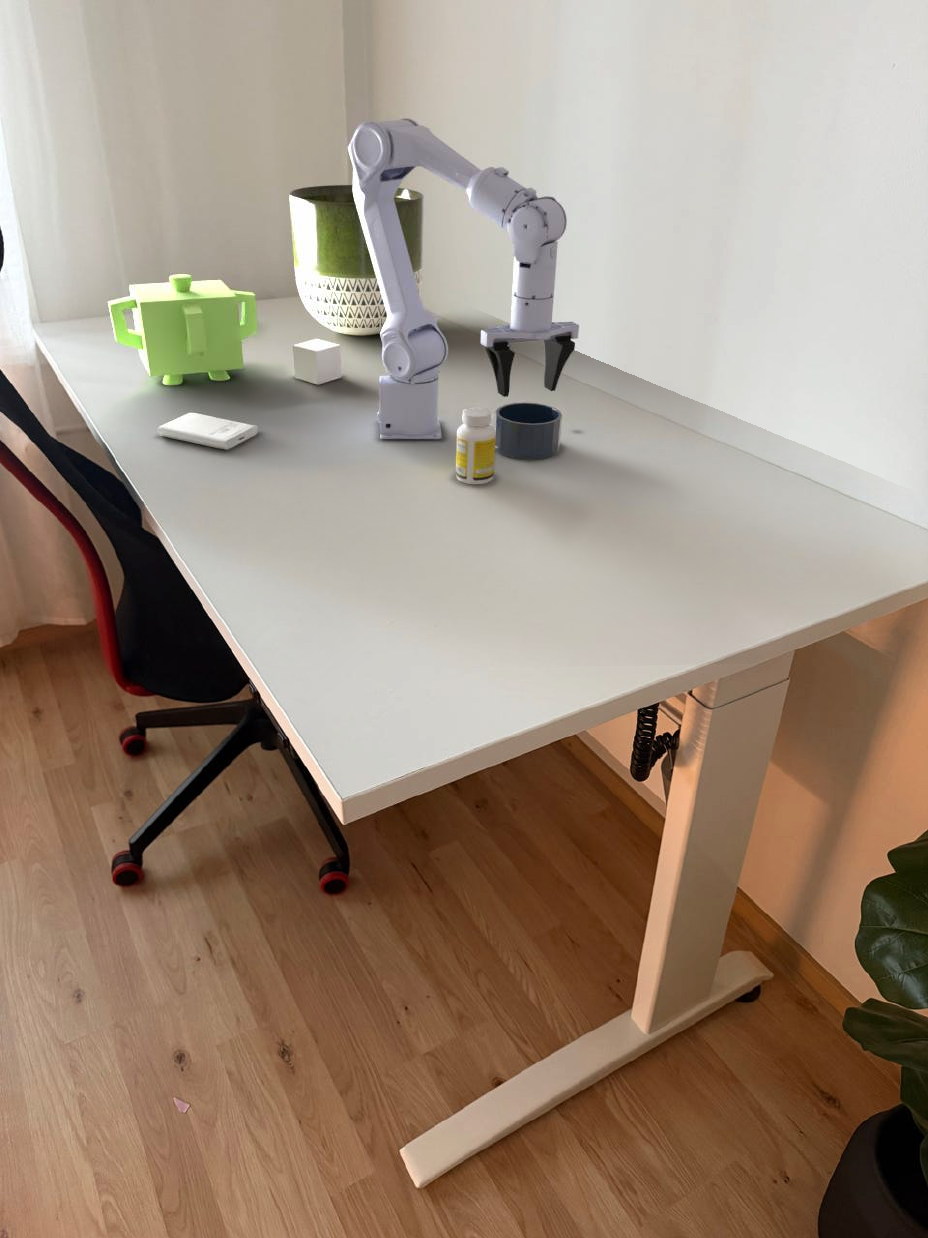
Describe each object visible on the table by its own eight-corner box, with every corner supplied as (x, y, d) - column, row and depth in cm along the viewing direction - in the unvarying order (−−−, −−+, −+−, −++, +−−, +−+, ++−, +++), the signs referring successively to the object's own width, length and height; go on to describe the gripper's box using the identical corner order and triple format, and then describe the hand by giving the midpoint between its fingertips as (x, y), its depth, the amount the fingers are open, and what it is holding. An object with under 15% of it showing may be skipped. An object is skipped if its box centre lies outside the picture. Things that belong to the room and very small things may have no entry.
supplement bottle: (498, 474, 137) (501, 408, 132) (486, 488, 132) (489, 420, 127) (462, 468, 138) (464, 403, 133) (450, 482, 134) (451, 415, 129)
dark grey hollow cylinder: (497, 459, 141) (499, 424, 138) (491, 435, 150) (492, 402, 147) (563, 459, 142) (566, 424, 139) (553, 435, 151) (556, 402, 148)
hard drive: (193, 421, 152) (257, 434, 148) (159, 437, 146) (225, 451, 141) (192, 411, 151) (257, 424, 147) (157, 426, 145) (224, 440, 140)
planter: (419, 350, 191) (420, 205, 176) (287, 345, 190) (277, 200, 176) (426, 317, 213) (426, 186, 199) (308, 313, 213) (300, 182, 199)
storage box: (129, 399, 160) (112, 294, 151) (114, 362, 178) (98, 266, 169) (274, 384, 169) (267, 285, 160) (246, 351, 186) (238, 259, 178)
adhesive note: (318, 370, 177) (316, 338, 174) (341, 377, 174) (340, 344, 171) (294, 377, 173) (292, 344, 170) (318, 384, 170) (316, 351, 167)
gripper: (498, 304, 124) (493, 405, 131) (593, 297, 129) (584, 394, 136) (475, 293, 129) (472, 390, 136) (567, 286, 135) (560, 380, 142)
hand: (526, 391), depth 137 cm, fingers open, 7 cm apart
